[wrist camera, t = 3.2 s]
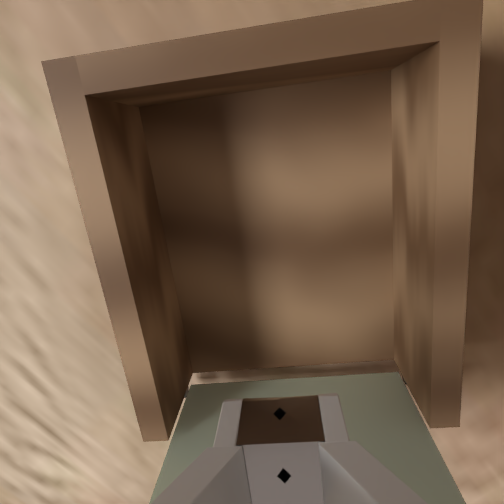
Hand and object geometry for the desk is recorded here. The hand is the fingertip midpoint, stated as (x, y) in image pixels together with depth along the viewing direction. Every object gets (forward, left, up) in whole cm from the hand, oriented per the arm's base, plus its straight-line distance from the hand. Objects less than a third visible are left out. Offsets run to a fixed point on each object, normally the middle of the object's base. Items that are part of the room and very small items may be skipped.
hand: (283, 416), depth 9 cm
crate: (-2, 0, -11) cm, 11 cm away
